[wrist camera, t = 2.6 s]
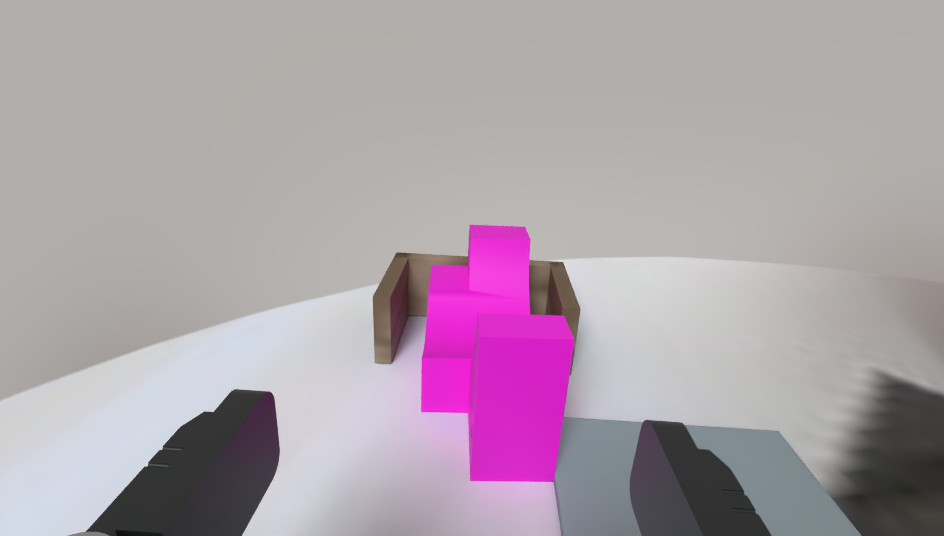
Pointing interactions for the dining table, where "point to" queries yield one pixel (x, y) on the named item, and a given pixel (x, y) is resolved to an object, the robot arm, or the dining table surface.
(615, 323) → the dining table surface
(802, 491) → the slate mat
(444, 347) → the toy block
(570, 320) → the walnut bracket
